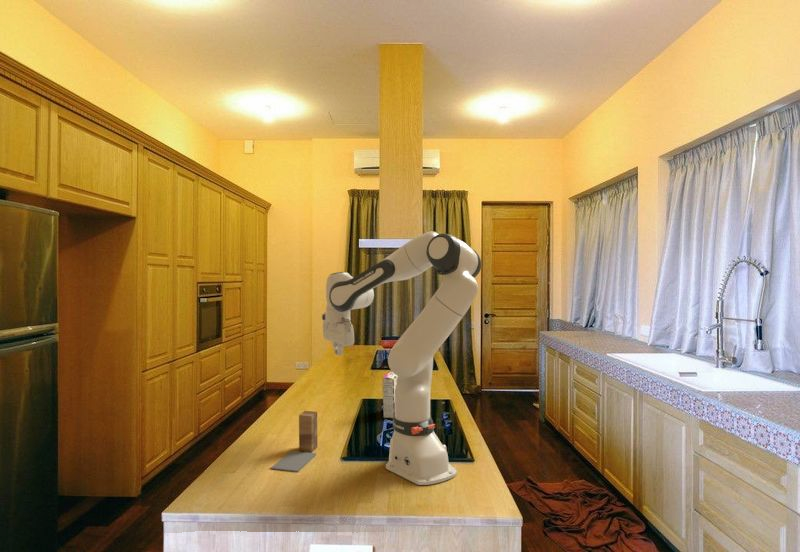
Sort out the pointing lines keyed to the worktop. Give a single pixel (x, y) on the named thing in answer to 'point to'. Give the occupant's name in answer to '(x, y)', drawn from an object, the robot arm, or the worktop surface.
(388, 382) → the candy bar box
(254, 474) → the worktop surface
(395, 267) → the robot arm
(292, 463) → the mat
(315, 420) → the block
